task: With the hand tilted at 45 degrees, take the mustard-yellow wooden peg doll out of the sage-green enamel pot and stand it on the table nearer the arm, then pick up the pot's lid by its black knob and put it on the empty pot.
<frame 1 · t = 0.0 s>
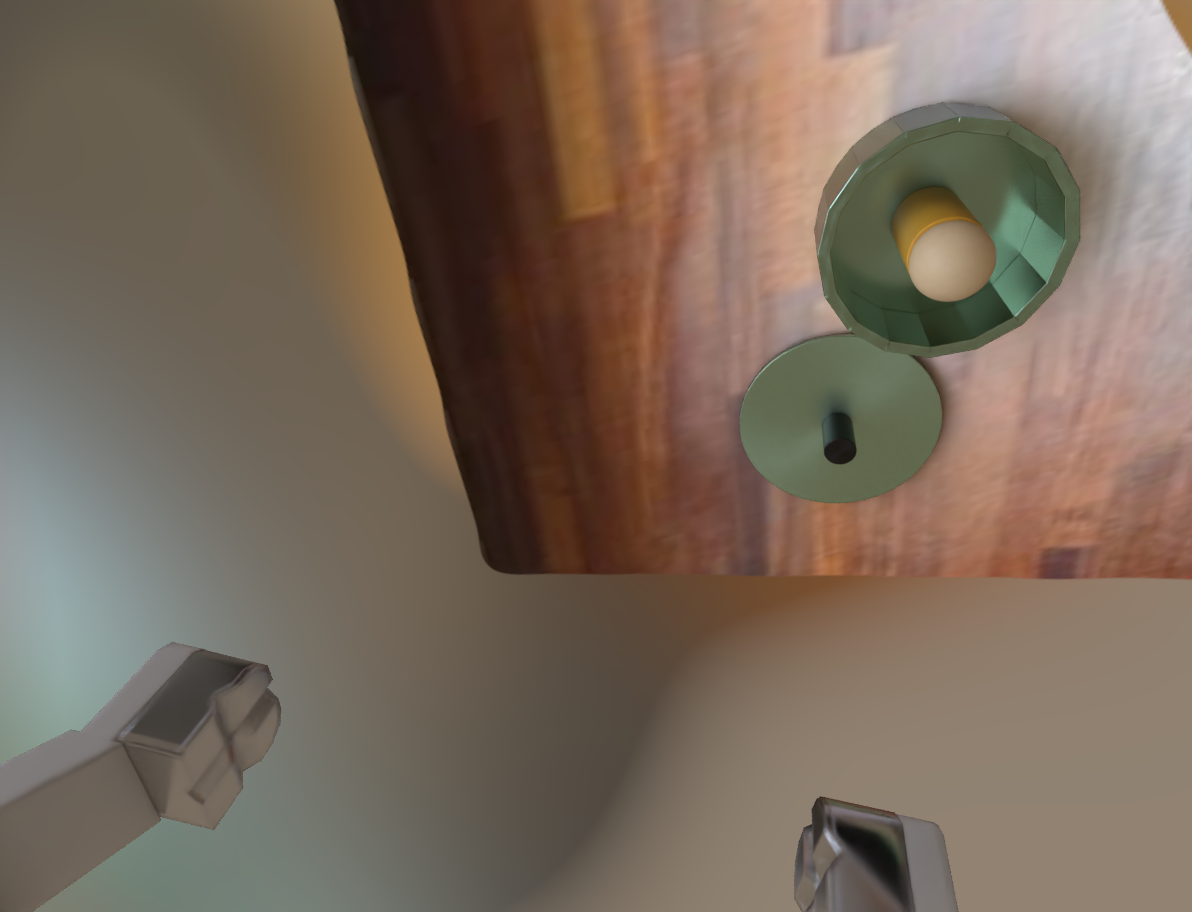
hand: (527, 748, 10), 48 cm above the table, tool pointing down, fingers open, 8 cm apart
toy: (927, 221, 49), resting on pot
pot: (926, 219, 49), on the table
lid: (836, 422, 58), point 1 cm above the table
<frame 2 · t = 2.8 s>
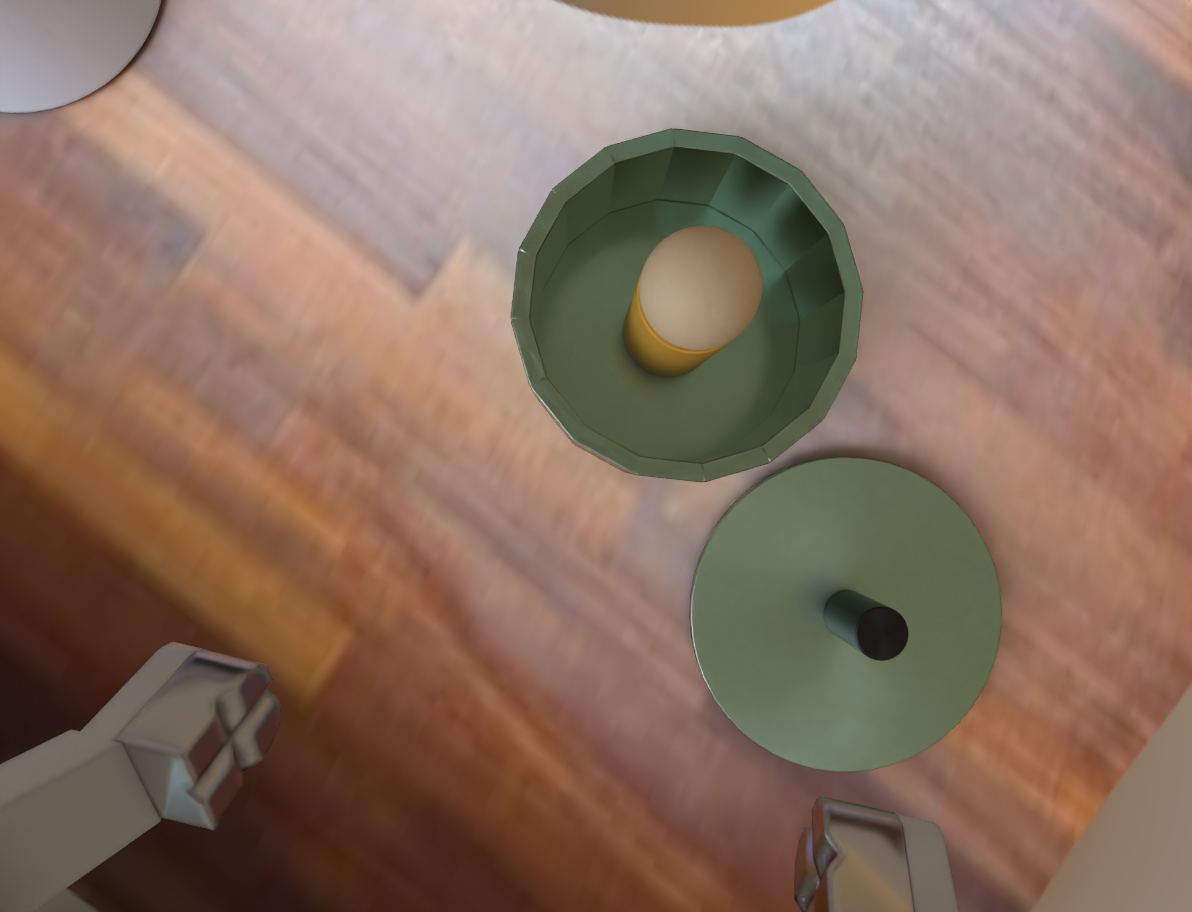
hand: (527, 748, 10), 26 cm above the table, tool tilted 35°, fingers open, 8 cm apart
toy: (669, 330, 36), resting on pot
pot: (667, 332, 36), on the table
lid: (843, 612, 36), point 1 cm above the table
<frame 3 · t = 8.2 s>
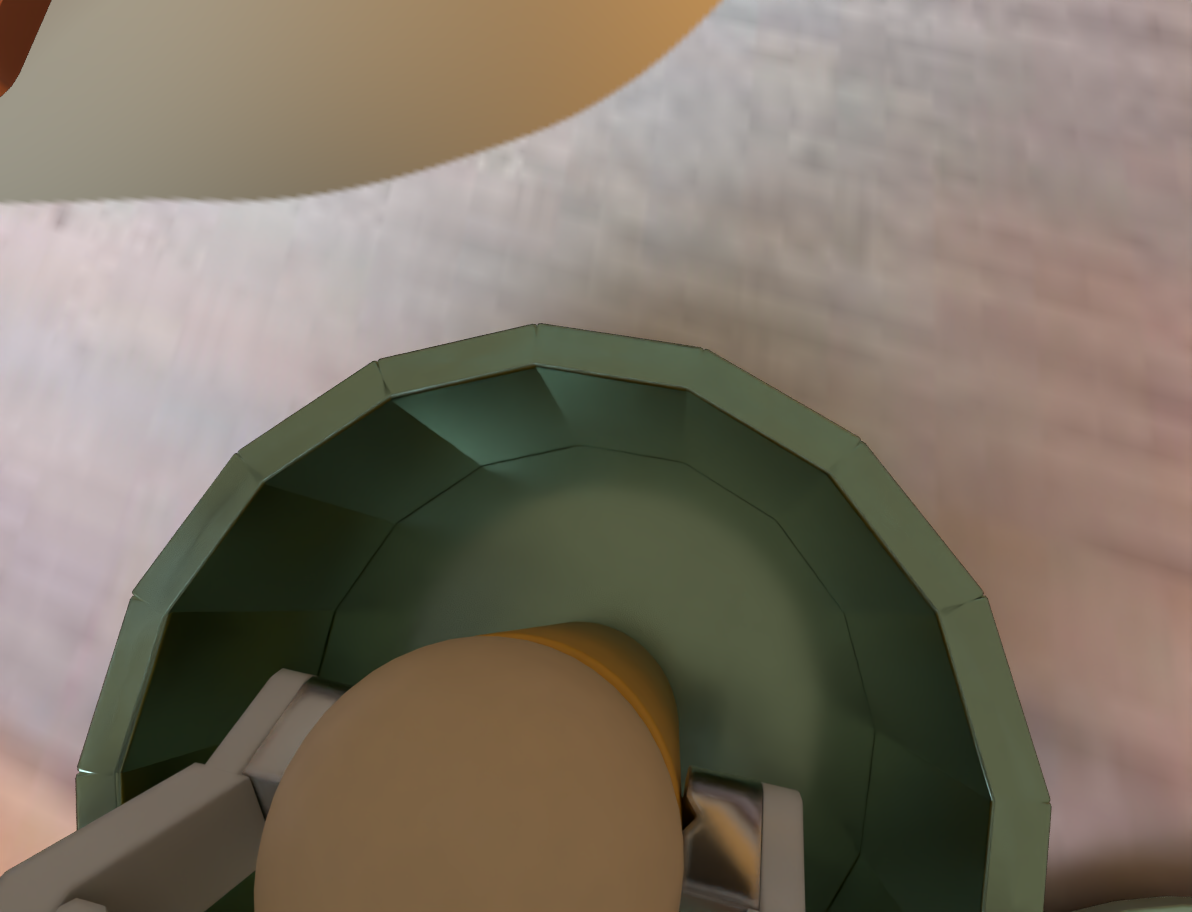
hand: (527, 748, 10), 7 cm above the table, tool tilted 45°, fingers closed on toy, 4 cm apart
toy: (579, 723, 17), point 1 cm above the table, touching gripper, pot
pot: (581, 720, 17), on the table
when the fingers open (6 cm above the table, at t = 16.8 s): toy stays where it is, on the table.
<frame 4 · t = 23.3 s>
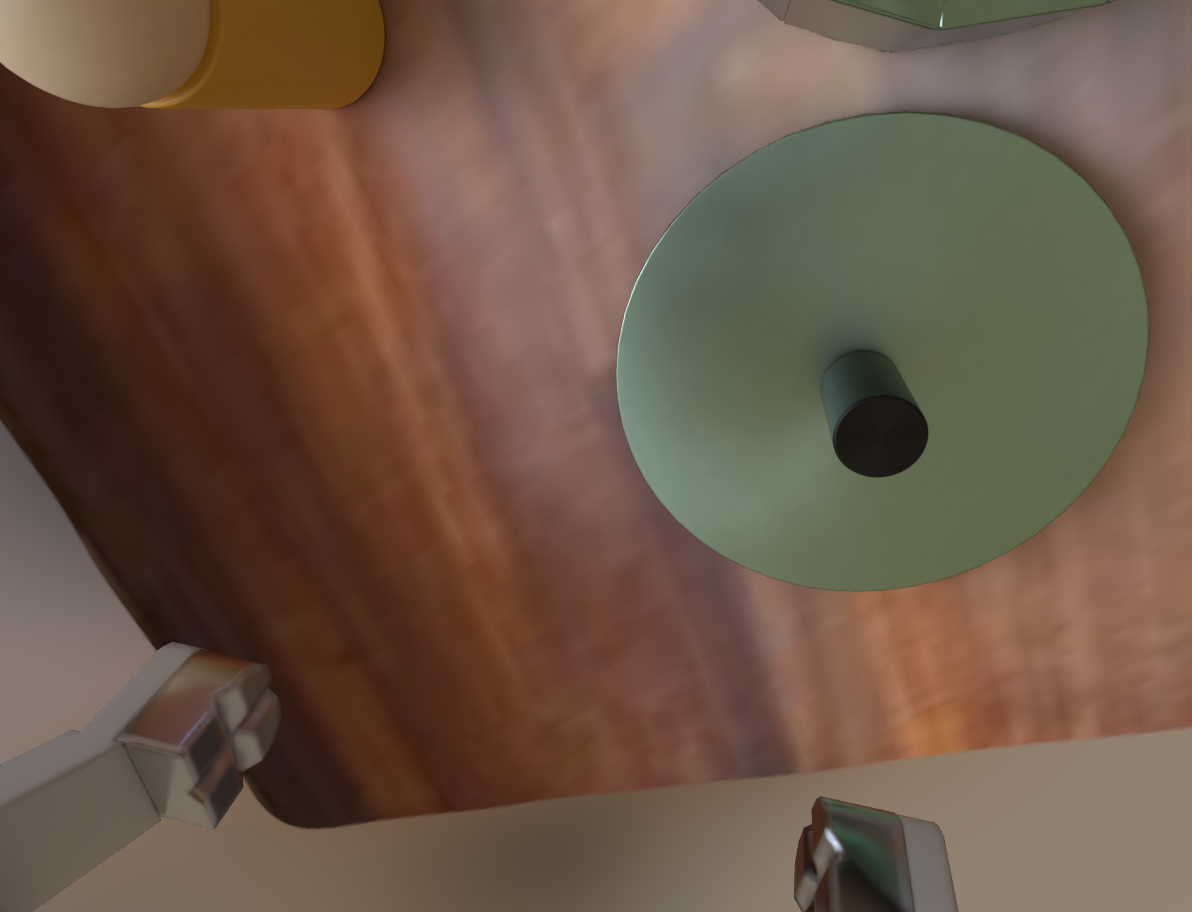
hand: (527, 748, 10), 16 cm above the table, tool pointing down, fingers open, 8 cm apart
toy: (316, 26, 22), on the table
lid: (858, 381, 23), point 1 cm above the table
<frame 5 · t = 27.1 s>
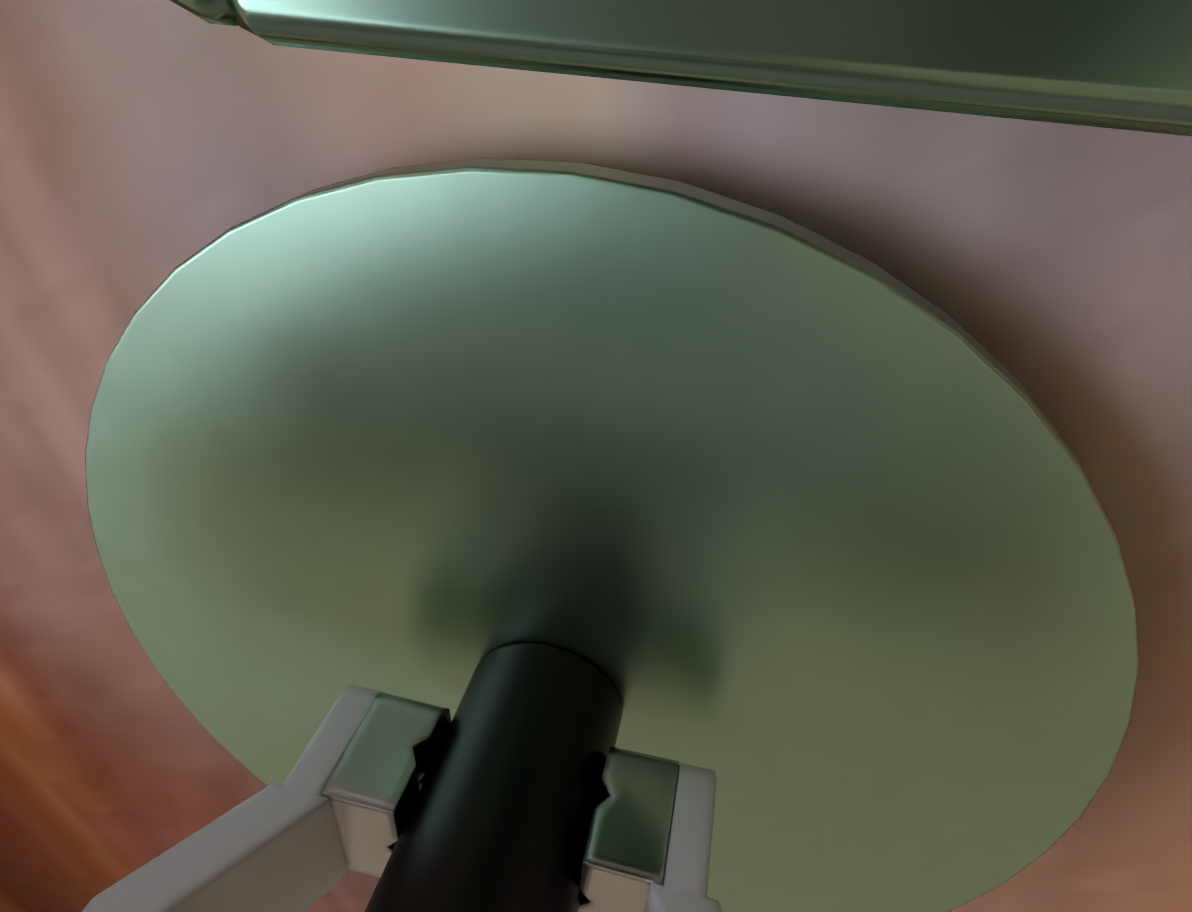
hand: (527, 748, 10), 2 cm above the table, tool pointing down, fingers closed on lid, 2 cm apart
lid: (556, 669, 12), point 1 cm above the table, touching gripper
when the fingers open (8 cm above the table, at t = 33.3 s): lid stays where it is, resting on pot.
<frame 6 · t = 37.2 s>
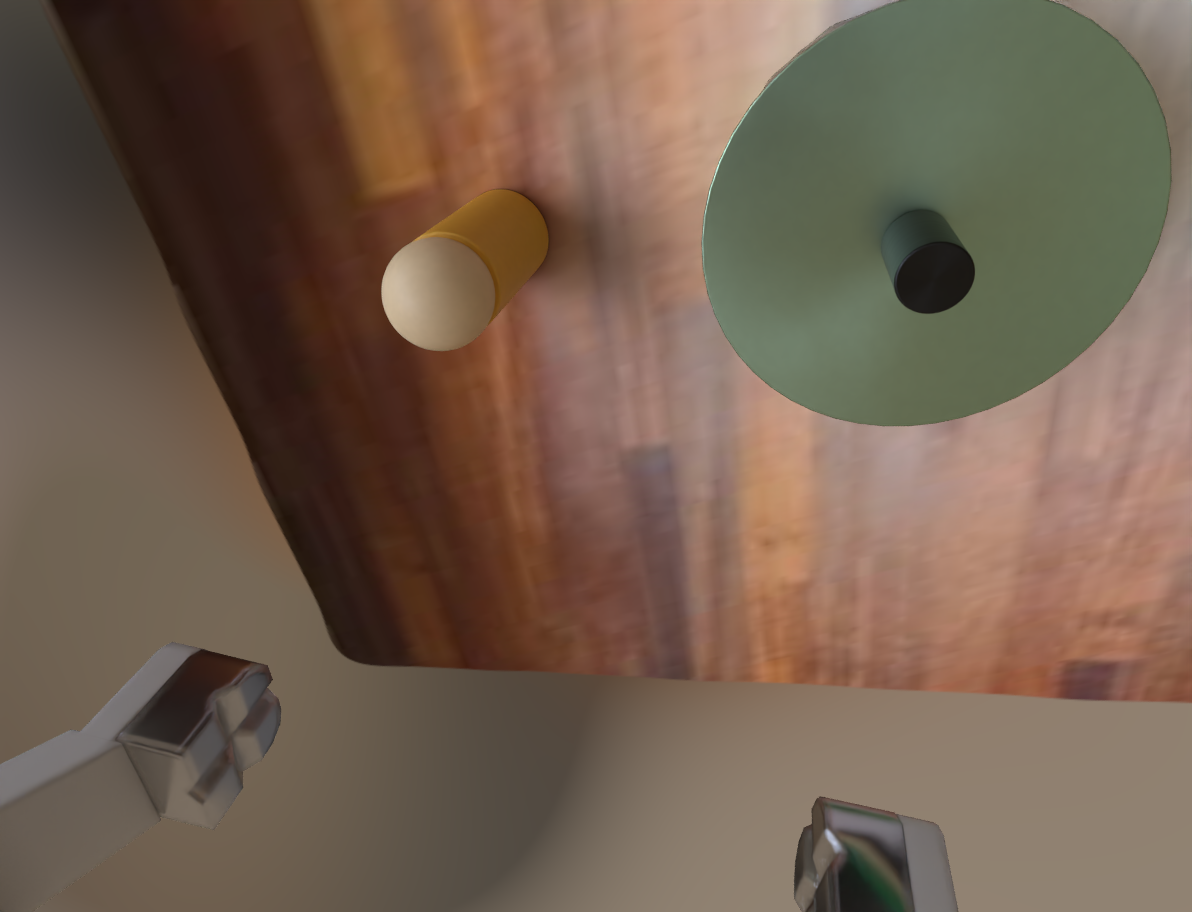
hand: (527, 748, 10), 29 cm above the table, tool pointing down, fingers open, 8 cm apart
toy: (506, 235, 37), on the table
lid: (913, 238, 27), point 6 cm above the table, touching pot
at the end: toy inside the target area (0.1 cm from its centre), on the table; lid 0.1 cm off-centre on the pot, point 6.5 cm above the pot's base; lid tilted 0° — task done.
